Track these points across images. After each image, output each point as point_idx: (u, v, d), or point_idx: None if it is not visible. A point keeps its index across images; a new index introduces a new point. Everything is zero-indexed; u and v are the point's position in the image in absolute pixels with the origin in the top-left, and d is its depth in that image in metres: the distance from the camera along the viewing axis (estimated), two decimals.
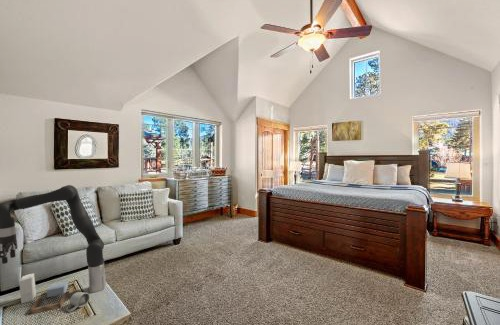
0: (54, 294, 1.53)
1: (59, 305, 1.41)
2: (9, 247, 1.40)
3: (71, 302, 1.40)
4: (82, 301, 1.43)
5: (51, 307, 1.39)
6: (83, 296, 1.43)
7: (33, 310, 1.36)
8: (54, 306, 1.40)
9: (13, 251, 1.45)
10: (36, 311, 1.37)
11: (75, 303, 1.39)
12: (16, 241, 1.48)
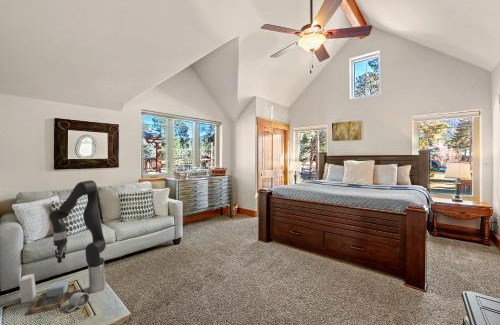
0: (54, 294, 1.53)
1: (59, 305, 1.41)
2: (62, 249, 1.63)
3: (70, 302, 1.40)
4: (81, 301, 1.42)
5: (51, 307, 1.39)
6: (82, 296, 1.43)
7: (33, 310, 1.36)
8: (54, 306, 1.40)
9: (63, 253, 1.68)
10: (36, 311, 1.37)
11: (74, 303, 1.39)
12: None
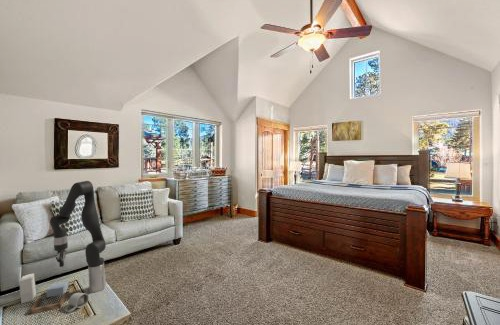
0: (54, 294, 1.53)
1: (59, 305, 1.41)
2: (63, 254, 1.64)
3: (70, 303, 1.40)
4: (81, 302, 1.42)
5: (51, 307, 1.39)
6: (82, 297, 1.43)
7: (33, 310, 1.36)
8: (54, 306, 1.40)
9: None
10: (36, 311, 1.37)
11: (74, 304, 1.38)
12: (65, 252, 1.70)
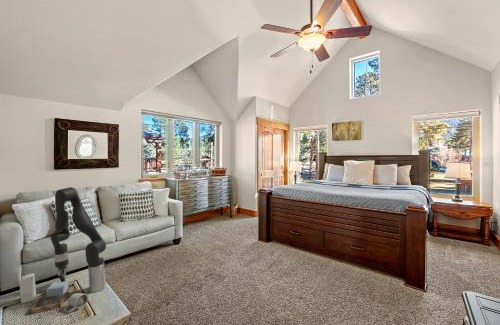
0: (53, 294, 1.53)
1: (59, 305, 1.41)
2: (64, 270, 1.64)
3: (69, 303, 1.39)
4: (80, 302, 1.42)
5: (51, 307, 1.39)
6: (81, 297, 1.42)
7: (33, 310, 1.36)
8: (54, 306, 1.40)
9: None
10: (36, 311, 1.37)
11: (73, 304, 1.38)
12: None
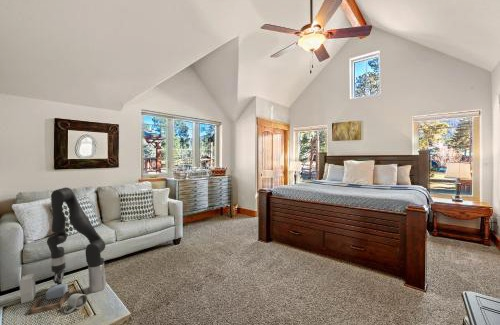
0: (53, 296, 1.50)
1: (59, 305, 1.41)
2: (60, 275, 1.58)
3: (68, 304, 1.39)
4: (80, 303, 1.41)
5: (51, 307, 1.39)
6: (81, 297, 1.42)
7: (33, 310, 1.36)
8: (54, 306, 1.40)
9: None
10: (36, 311, 1.37)
11: (72, 305, 1.38)
12: None
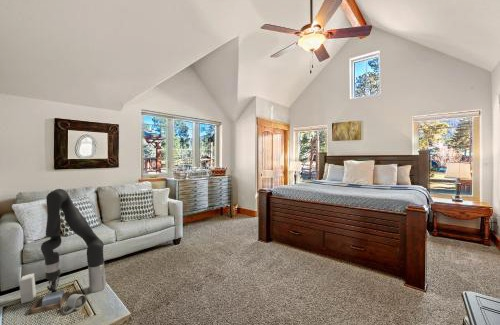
0: None
1: (59, 305, 1.41)
2: (55, 282, 1.50)
3: (67, 304, 1.38)
4: (79, 303, 1.41)
5: (51, 307, 1.39)
6: (80, 298, 1.41)
7: (33, 310, 1.36)
8: (54, 306, 1.40)
9: None
10: (36, 311, 1.37)
11: (71, 305, 1.37)
12: None
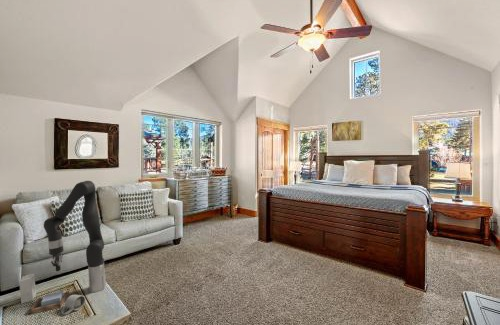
0: None
1: (59, 305, 1.41)
2: (59, 258, 1.56)
3: (66, 305, 1.38)
4: (77, 304, 1.40)
5: (51, 307, 1.39)
6: (78, 299, 1.41)
7: (33, 310, 1.36)
8: (54, 306, 1.40)
9: None
10: (36, 311, 1.37)
11: (70, 306, 1.36)
12: (62, 255, 1.63)
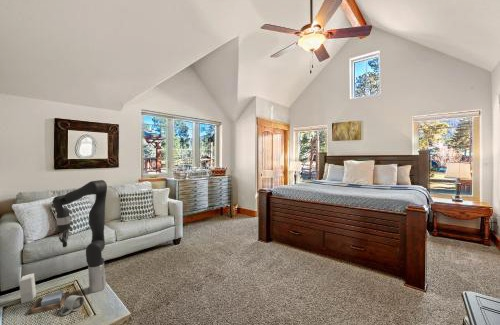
0: None
1: (59, 305, 1.41)
2: (66, 234, 1.65)
3: (65, 305, 1.37)
4: (76, 304, 1.39)
5: (51, 307, 1.39)
6: (77, 299, 1.40)
7: (33, 310, 1.36)
8: (54, 306, 1.40)
9: None
10: (36, 311, 1.37)
11: (69, 307, 1.36)
12: (68, 233, 1.71)
